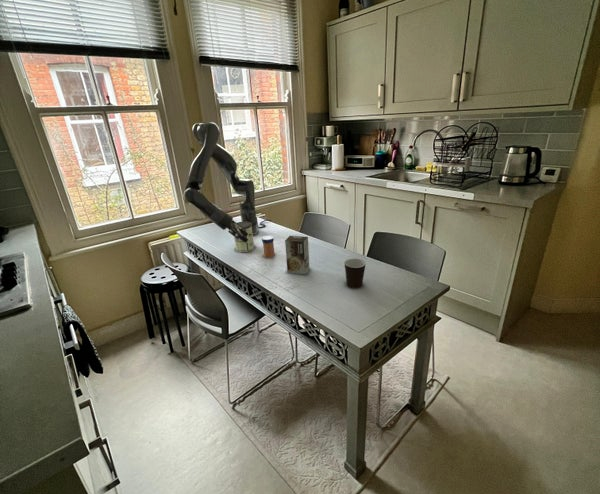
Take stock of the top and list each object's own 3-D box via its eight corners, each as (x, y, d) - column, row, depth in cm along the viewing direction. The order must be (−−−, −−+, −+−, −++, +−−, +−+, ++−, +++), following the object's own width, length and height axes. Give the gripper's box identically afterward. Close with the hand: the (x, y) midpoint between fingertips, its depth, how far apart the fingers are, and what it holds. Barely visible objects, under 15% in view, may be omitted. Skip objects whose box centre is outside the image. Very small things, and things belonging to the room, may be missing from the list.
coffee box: (309, 268, 148) (308, 236, 142) (305, 274, 143) (304, 241, 136) (291, 266, 151) (289, 235, 144) (286, 272, 145) (284, 240, 139)
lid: (266, 238, 164) (265, 235, 164) (275, 239, 162) (275, 236, 161) (260, 242, 160) (259, 238, 159) (269, 243, 157) (269, 240, 157)
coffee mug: (360, 291, 127) (360, 269, 123) (340, 286, 132) (340, 264, 127) (370, 279, 136) (371, 258, 132) (351, 275, 140) (352, 254, 136)
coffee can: (238, 245, 180) (235, 221, 174) (256, 245, 179) (253, 221, 173) (233, 252, 170) (229, 227, 165) (252, 252, 169) (249, 227, 164)
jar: (267, 252, 168) (266, 236, 164) (276, 254, 165) (275, 237, 161) (262, 256, 163) (260, 239, 159) (270, 258, 161) (269, 241, 157)
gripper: (224, 216, 146) (252, 237, 152) (226, 208, 159) (251, 228, 165) (214, 228, 147) (242, 248, 153) (217, 219, 160) (242, 238, 166)
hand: (247, 238), depth 159 cm, fingers open, 8 cm apart
